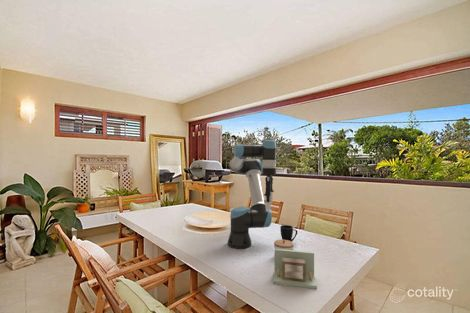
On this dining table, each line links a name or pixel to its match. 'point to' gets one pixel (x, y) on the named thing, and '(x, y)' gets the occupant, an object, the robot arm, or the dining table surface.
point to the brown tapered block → (294, 269)
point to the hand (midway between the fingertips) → (269, 205)
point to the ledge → (295, 255)
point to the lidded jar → (283, 244)
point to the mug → (287, 232)
